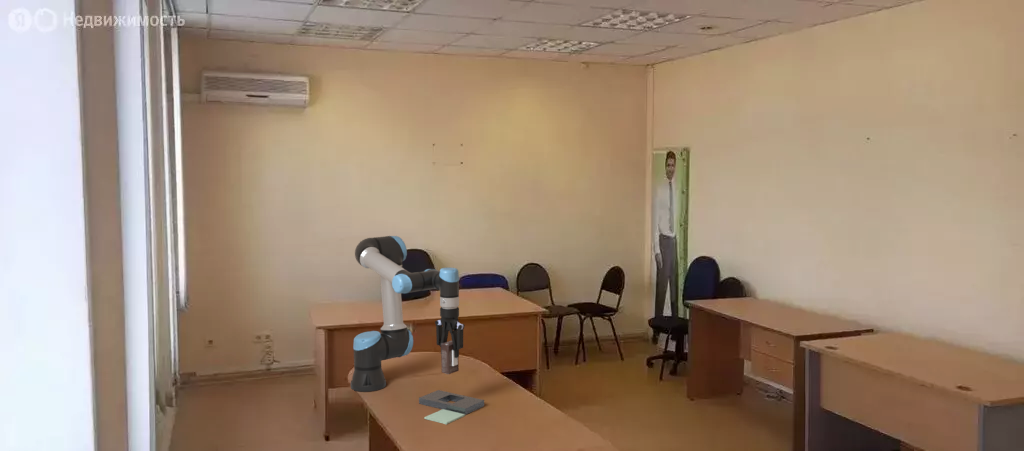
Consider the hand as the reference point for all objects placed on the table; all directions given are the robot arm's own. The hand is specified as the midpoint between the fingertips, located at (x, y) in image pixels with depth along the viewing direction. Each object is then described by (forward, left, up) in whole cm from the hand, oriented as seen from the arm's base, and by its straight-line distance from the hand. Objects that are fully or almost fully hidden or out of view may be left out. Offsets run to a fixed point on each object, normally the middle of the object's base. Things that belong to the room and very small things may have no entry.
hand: (449, 364), depth 299 cm
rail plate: (+1, 0, -17) cm, 17 cm away
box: (0, 0, -3) cm, 3 cm away
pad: (+8, -13, -17) cm, 22 cm away
